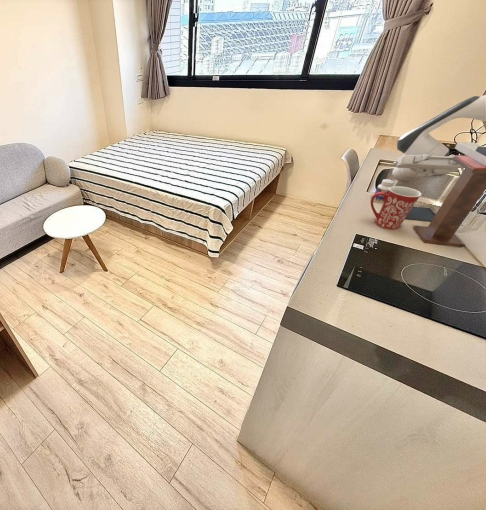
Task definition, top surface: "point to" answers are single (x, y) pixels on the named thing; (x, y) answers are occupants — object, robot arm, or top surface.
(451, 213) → the shelf stand
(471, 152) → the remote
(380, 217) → the mug
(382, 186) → the pill bottle
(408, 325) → the top surface
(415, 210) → the mat
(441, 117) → the robot arm
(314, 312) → the top surface
